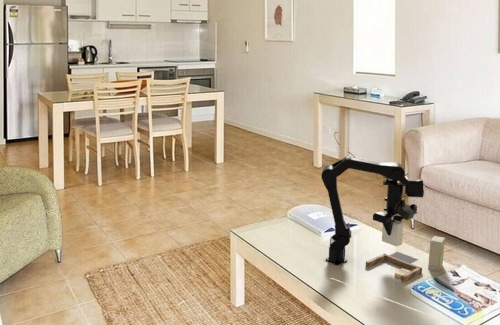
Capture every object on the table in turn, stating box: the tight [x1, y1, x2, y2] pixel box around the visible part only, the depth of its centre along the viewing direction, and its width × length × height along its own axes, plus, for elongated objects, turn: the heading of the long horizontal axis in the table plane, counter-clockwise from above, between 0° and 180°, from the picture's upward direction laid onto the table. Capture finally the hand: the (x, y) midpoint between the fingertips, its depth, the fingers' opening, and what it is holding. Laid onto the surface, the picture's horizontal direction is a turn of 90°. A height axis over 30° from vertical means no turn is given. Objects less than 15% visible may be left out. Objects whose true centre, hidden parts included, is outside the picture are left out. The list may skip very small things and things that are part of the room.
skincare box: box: [427, 235, 446, 272], centre depth 199 cm, size 6×4×12 cm
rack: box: [365, 253, 423, 283], centre depth 197 cm, size 12×17×2 cm
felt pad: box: [388, 251, 419, 264], centre depth 208 cm, size 8×10×1 cm
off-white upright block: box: [381, 219, 405, 247], centre depth 198 cm, size 4×7×9 cm, turn 38°
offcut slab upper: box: [394, 267, 411, 279], centre depth 193 cm, size 6×4×1 cm, turn 136°
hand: (392, 234), depth 199 cm, fingers closed on off-white upright block, 3 cm apart
